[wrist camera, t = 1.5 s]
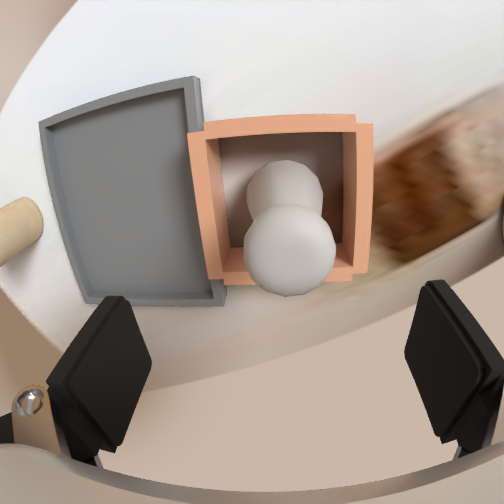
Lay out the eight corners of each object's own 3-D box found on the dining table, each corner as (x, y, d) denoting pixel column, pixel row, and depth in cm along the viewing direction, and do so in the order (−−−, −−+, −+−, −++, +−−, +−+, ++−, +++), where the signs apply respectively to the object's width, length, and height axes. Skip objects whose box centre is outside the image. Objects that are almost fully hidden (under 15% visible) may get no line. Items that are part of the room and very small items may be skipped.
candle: (24, 243, 29) (-29, 283, 20) (10, 202, 27) (-48, 235, 18) (49, 236, 28) (-8, 279, 19) (35, 191, 26) (-29, 225, 17)
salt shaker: (294, 234, 26) (306, 335, 14) (237, 202, 25) (201, 284, 14) (331, 178, 24) (381, 243, 12) (271, 142, 23) (265, 171, 11)
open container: (355, 114, 21) (372, 115, 17) (354, 254, 26) (366, 279, 22) (201, 122, 22) (185, 124, 18) (219, 260, 28) (209, 285, 24)
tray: (199, 78, 21) (193, 75, 19) (226, 294, 29) (223, 306, 28) (50, 120, 23) (38, 122, 21) (93, 293, 31) (85, 303, 29)
